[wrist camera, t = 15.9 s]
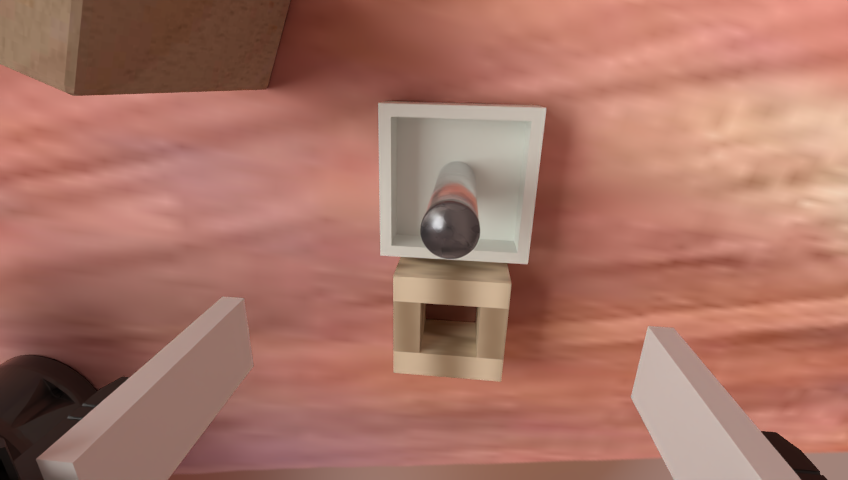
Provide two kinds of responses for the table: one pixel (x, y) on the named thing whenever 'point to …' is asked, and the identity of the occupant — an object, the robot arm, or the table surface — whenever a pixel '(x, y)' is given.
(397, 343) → the hollow square frame
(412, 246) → the tray
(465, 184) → the glass vial with cap
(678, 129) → the table surface
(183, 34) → the wooden block
